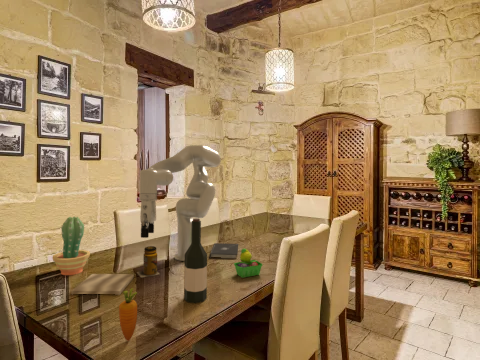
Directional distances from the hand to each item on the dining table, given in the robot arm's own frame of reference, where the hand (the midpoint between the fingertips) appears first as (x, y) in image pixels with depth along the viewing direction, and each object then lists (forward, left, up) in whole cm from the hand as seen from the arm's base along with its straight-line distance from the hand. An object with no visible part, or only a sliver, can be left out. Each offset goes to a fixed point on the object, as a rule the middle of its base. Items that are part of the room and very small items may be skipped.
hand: (147, 235), depth 141 cm
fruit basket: (-45, 0, -18) cm, 49 cm away
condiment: (0, 0, -18) cm, 18 cm away
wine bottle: (-24, +26, -18) cm, 40 cm away
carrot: (-8, +54, -18) cm, 57 cm away
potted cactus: (+35, -2, -18) cm, 39 cm away
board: (+14, +14, -18) cm, 26 cm away
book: (-35, -34, -19) cm, 52 cm away
